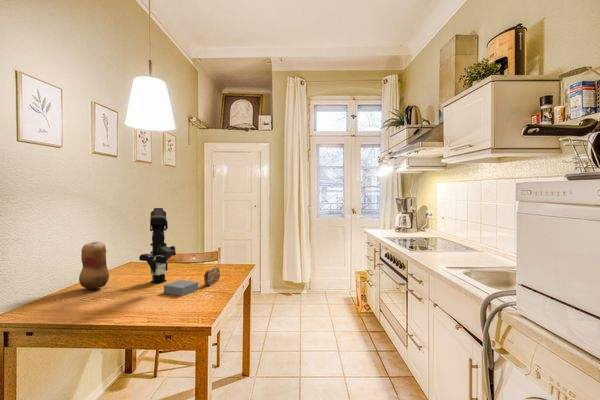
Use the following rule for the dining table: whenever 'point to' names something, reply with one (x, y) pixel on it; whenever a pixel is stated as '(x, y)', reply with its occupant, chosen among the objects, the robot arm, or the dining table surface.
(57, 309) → the dining table surface
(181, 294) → the plinth
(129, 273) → the dining table surface
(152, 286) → the dining table surface
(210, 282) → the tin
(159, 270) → the cube
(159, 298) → the dining table surface
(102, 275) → the butternut squash
